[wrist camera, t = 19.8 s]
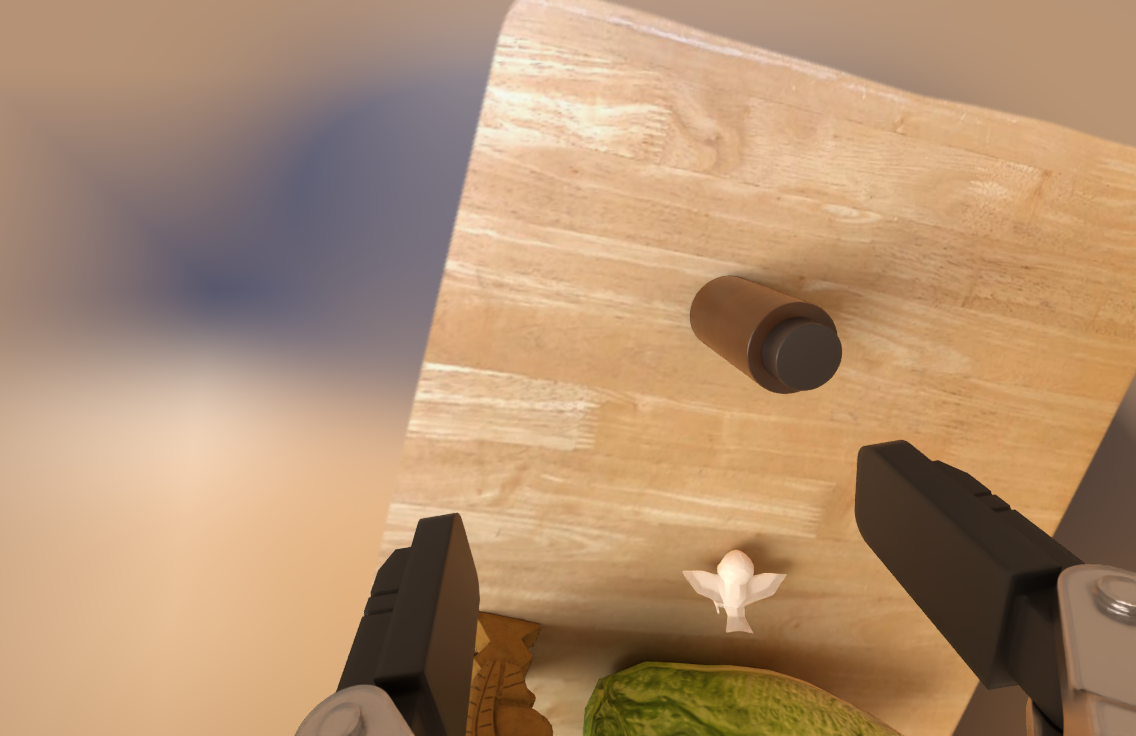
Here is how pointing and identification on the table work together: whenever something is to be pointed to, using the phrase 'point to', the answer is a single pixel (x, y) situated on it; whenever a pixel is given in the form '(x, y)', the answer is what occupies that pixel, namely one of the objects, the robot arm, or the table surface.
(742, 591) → the toy bird
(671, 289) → the table surface
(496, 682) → the figurine
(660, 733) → the lettuce
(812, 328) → the pepper mill
